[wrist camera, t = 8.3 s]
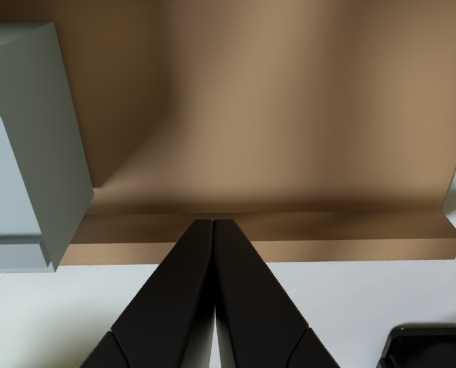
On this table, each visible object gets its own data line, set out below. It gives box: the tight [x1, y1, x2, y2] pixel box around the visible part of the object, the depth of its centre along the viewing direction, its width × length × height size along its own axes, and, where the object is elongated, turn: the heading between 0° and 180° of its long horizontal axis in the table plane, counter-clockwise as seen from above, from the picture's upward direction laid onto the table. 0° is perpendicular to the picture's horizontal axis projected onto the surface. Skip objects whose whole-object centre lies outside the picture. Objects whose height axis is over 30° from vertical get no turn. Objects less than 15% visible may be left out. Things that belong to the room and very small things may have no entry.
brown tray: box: [0, 0, 456, 266], centre depth 14 cm, size 24×12×3 cm, turn 90°
